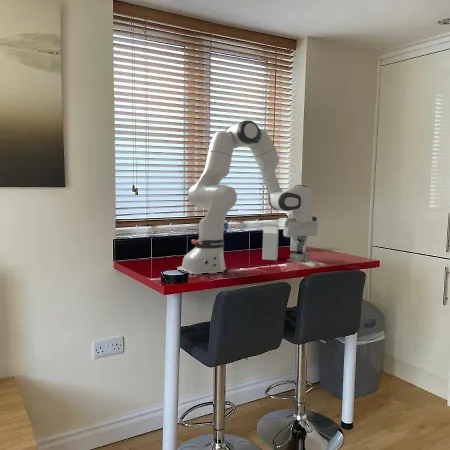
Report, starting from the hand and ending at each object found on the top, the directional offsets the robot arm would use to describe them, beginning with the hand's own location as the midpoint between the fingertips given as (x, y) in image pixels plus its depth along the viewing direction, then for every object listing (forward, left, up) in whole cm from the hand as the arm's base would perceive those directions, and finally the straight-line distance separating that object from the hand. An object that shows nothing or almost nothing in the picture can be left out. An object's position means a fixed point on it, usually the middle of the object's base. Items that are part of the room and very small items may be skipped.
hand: (299, 245), depth 226 cm
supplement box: (+27, +30, -10) cm, 42 cm away
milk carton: (-10, +11, -9) cm, 18 cm away
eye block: (0, -5, -9) cm, 10 cm away
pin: (0, 0, -5) cm, 5 cm away
